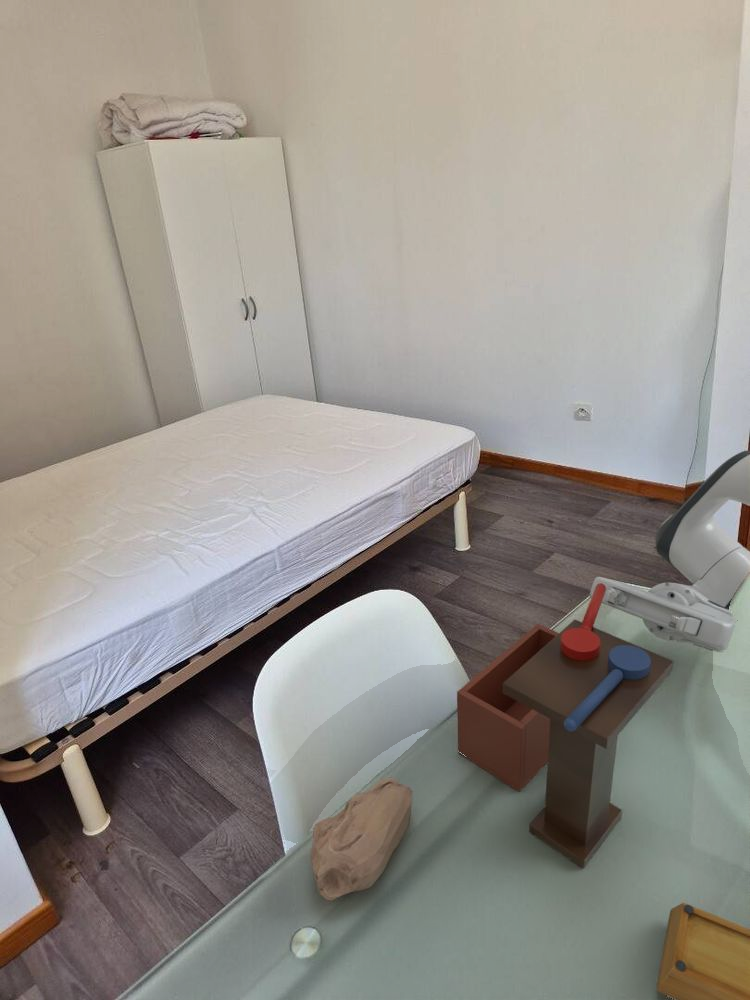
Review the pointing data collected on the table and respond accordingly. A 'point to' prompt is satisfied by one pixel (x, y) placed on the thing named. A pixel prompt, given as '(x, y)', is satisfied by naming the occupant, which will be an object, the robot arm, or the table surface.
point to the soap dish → (704, 957)
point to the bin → (504, 717)
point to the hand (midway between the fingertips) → (641, 609)
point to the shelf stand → (580, 739)
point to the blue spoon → (612, 680)
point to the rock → (360, 839)
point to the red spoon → (584, 632)
